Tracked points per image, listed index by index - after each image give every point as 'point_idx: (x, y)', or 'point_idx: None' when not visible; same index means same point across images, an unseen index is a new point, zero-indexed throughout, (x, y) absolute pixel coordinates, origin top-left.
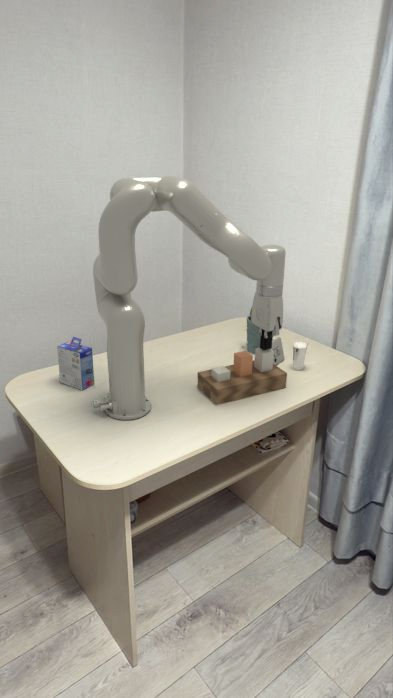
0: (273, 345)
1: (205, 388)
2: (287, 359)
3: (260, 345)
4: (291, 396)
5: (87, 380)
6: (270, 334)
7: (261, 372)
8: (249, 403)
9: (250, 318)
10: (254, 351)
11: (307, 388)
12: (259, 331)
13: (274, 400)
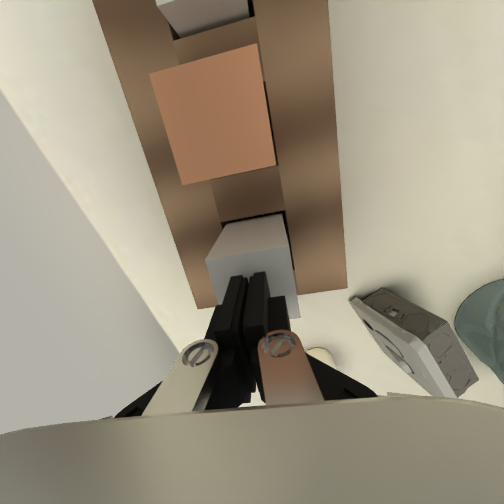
0: (412, 361)
1: None
2: (382, 359)
3: (257, 280)
4: (159, 272)
5: None
6: (121, 412)
7: (219, 223)
8: (125, 124)
9: None
10: (486, 293)
11: (197, 328)
12: (305, 356)
13: (140, 216)
